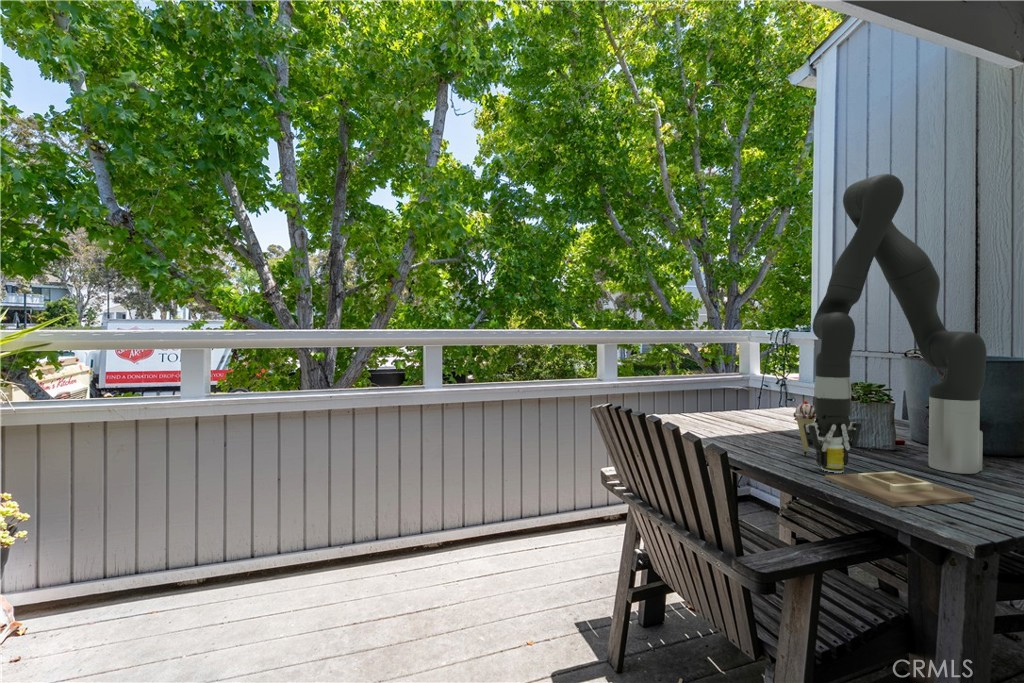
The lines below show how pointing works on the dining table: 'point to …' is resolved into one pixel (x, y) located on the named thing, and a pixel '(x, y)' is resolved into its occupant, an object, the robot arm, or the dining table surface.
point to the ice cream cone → (804, 420)
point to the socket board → (898, 489)
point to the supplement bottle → (835, 456)
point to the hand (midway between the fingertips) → (832, 465)
